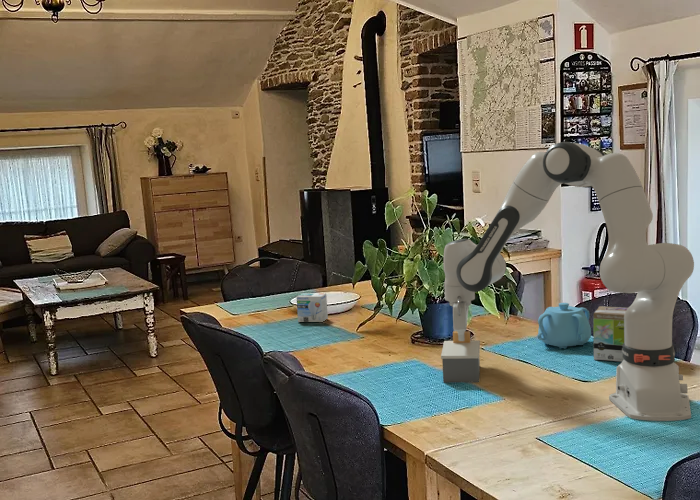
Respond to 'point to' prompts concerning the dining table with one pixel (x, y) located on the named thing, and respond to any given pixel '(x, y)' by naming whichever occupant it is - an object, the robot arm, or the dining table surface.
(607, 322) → the tea box
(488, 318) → the dining table surface
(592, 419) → the dining table surface
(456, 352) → the lid
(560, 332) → the decorative pot
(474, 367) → the tub
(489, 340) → the dining table surface
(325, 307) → the light bulb box
